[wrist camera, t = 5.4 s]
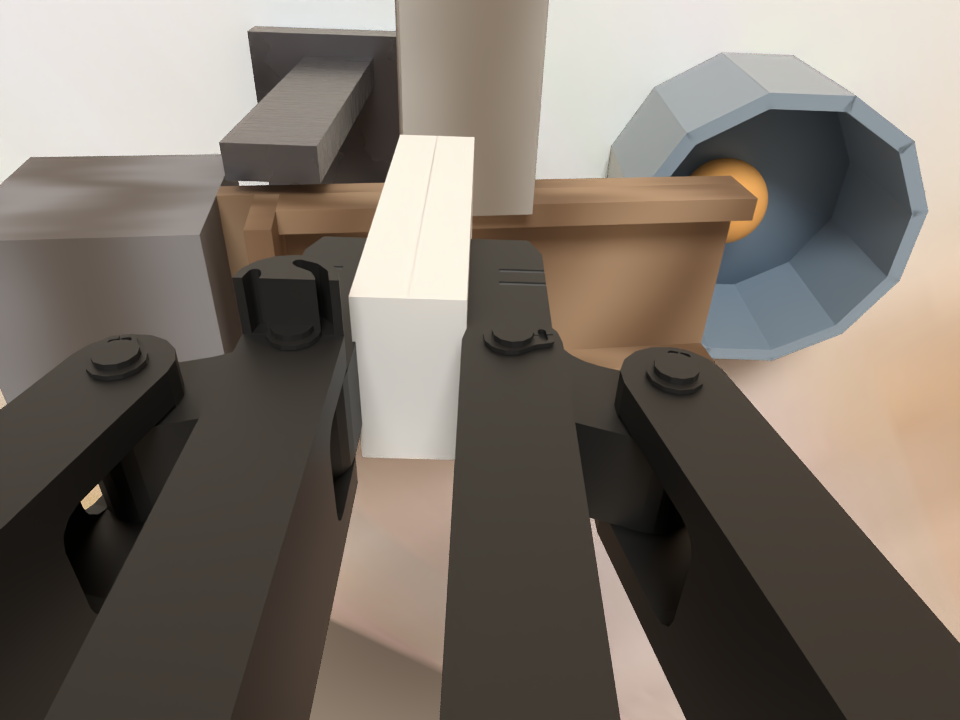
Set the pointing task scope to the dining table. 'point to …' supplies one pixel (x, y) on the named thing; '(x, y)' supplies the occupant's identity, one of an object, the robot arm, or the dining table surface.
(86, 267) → the lever
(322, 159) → the lever stand
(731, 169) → the ball
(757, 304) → the cup
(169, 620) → the robot arm
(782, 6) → the dining table surface
